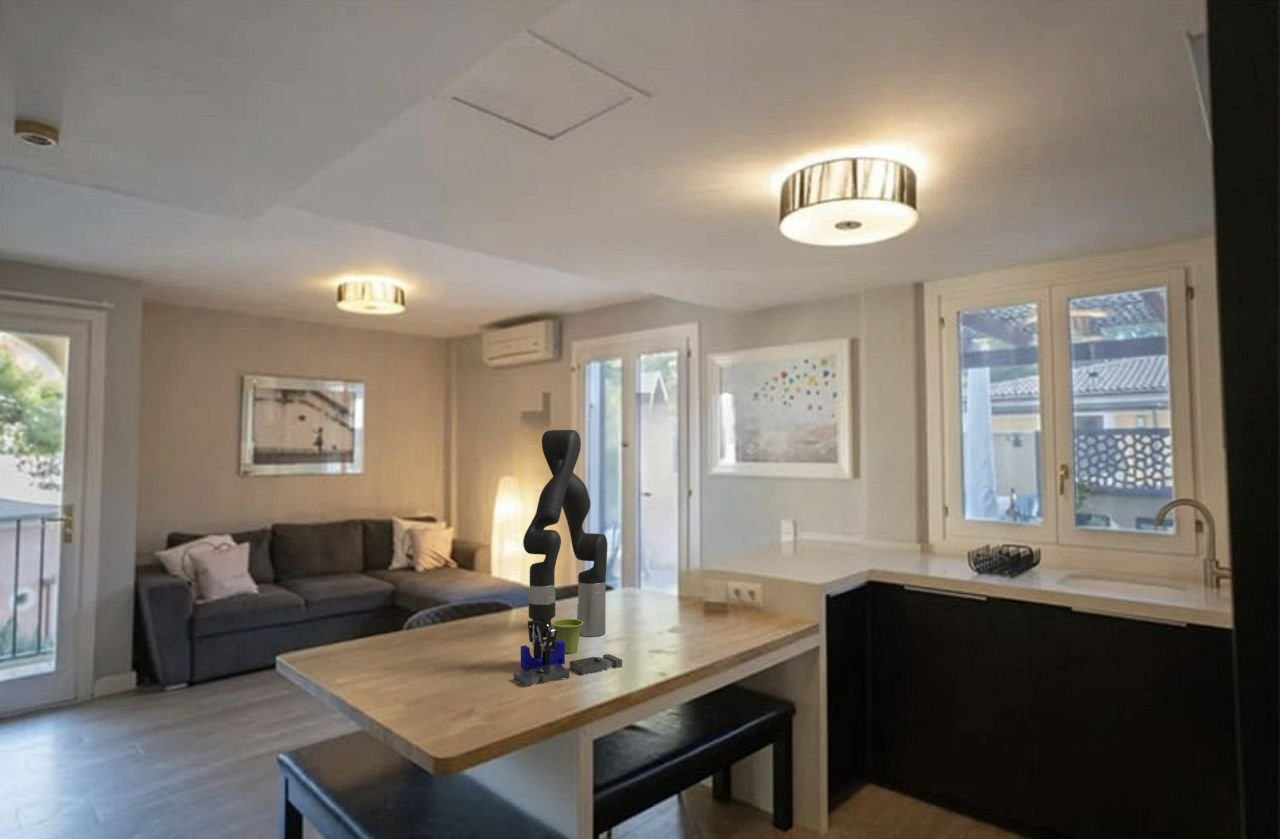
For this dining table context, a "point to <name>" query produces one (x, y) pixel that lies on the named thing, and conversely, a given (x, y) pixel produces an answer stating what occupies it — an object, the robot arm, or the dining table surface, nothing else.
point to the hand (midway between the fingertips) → (541, 661)
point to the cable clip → (529, 662)
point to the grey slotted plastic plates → (560, 672)
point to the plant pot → (568, 633)
